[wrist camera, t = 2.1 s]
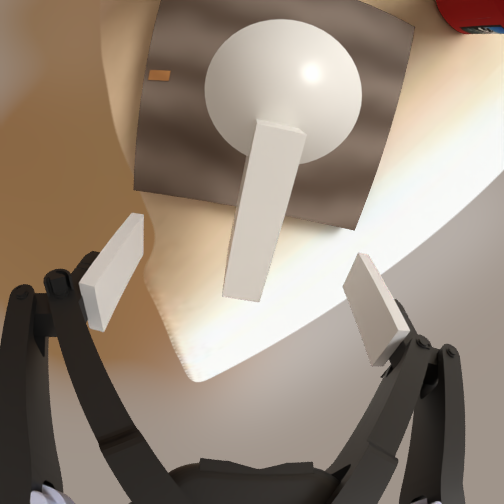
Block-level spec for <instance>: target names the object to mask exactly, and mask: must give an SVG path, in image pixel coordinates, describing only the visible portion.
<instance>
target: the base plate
mask: <svg viewBox="0 0 504 504" xmlns="http://www.w3.org/2000/svg"><path fill="white" fill-rule="evenodd" d="M275 19H287V20H295V21H300V22H304V23H307V24H310V25H313V26H315V27H317V28H319V29H321V30H323V31H325V32H326V33H328V34H329V35H331V36H332V37H333V38H334V39H336V40H337V41H338V42H339V43H340V44H341V45H342V46H343V47H344V48H345V49H346V51H347V52H348V54H349V55H350V57H351V58H352V60H353V62H354V64H355V66H356V68H357V71H358V74H359V77H360V81H361V88H362V101H361V108H360V113H359V116H358V118H357V121H356V123H355V125H354V127H353V129H352V131H351V132H350V134H349V135H348V136H347V138H346V139H345V140H344V141H343V142H342V143H341V144H340V145H339V146H338V147H337V148H335V149H334V150H333V151H331V152H330V153H328V154H327V155H325V156H323V157H321V158H319V159H317V160H314V161H311V162H308V163H303V164H299V166H298V170H297V173H296V177H295V181H294V184H293V188H292V191H291V195H290V199H289V202H288V206H287V209H286V213H285V216H289V217H294V218H299V219H304V220H309V221H314V222H318V223H323V224H328V225H332V226H337V227H341V228H346V229H350V230H355V228H356V225H357V223H358V220H359V218H360V215H361V213H362V210H363V207H364V205H365V202H366V200H367V197H368V194H369V191H370V189H371V186H372V183H373V180H374V177H375V175H376V172H377V169H378V166H379V163H380V160H381V157H382V154H383V151H384V148H385V144H386V141H387V138H388V135H389V132H390V128H391V125H392V121H393V118H394V115H395V111H396V107H397V104H398V100H399V96H400V92H401V89H402V85H403V81H404V77H405V72H406V68H407V64H408V59H409V55H410V50H411V45H412V40H413V35H414V29H415V27H414V26H412V25H410V24H408V23H406V22H405V21H403V20H401V19H399V18H397V17H395V16H393V15H391V14H388V13H386V12H384V11H382V10H380V9H378V8H375V7H373V6H371V5H368V4H366V3H363V2H361V1H358V0H161V3H160V7H159V10H158V14H157V18H156V22H155V26H154V30H153V35H152V39H151V44H150V49H149V54H148V59H147V65H146V70H145V76H144V82H143V89H142V96H141V103H140V111H139V120H138V129H137V140H136V153H135V169H134V190H136V191H144V192H151V193H157V194H164V195H171V196H177V197H184V198H190V199H196V200H202V201H208V202H214V203H220V204H226V205H231V206H236V205H237V200H238V195H239V190H240V185H241V180H242V176H243V171H244V166H245V161H246V155H244V154H243V153H241V152H239V151H238V150H236V149H235V148H234V147H232V146H231V145H230V144H229V143H228V142H227V141H226V140H225V139H224V138H223V137H222V136H221V134H220V133H219V132H218V130H217V129H216V127H215V126H214V124H213V122H212V120H211V118H210V116H209V113H208V109H207V106H206V100H205V80H206V74H207V71H208V67H209V65H210V63H211V60H212V58H213V57H214V55H215V53H216V52H217V50H218V49H219V48H220V47H221V45H222V44H223V43H224V42H225V41H226V40H227V39H228V38H230V37H231V36H232V35H233V34H235V33H236V32H238V31H239V30H241V29H243V28H245V27H247V26H249V25H252V24H255V23H258V22H261V21H267V20H275Z"/></svg>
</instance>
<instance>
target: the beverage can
mask: <svg viewBox="0 0 504 504" xmlns="http://www.w3.org/2000/svg"><path fill="white" fill-rule="evenodd" d="M436 3H437V6H438V9H439V11H440V13H441V15H442V16H443V18H444V19H445V20H446V22H447V23H448V24H449V25H450V26H451V27H452V28H454V29H455V30H457V31H458V32H460V33H463V34H504V0H436Z"/></svg>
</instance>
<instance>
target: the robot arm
mask: <svg viewBox="0 0 504 504" xmlns="http://www.w3.org/2000/svg"><path fill="white" fill-rule="evenodd" d="M143 228H144V215H143V214H137V213H131V214H130V216H129V217H128V218H127V219H126V220H125V222H124V223H123V224H122V225H121V227H120V228H119V229H118V230H117V232H116V233H115V234H114V236H113V237H112V238H111V239H110V241H109V242H108V243H107V245H106V246H105V247H104V248H103V250H102V251H101V252H94V251H92V252H90V253H89V254H87V255H85V257H84V258H83V259H82V260H81V262H80V263H79V264H78V265H77V267H76V268H75V269H74V271H73V272H72V273H71V274H70V272H69V271H67V270H65V269H55V270H52V271H50V272H49V273H47V274H46V276H45V277H44V286H45V289H46V292H47V293H35V292H34V289H33V288H32V286H30V285H26V284H23V285H19V286H18V287H16V288H14V289H13V290H12V292H11V294H10V298H9V302H8V306H7V311H6V316H5V321H4V326H3V333H2V338H1V345H0V504H75V503H74V502H73V501H72V499H71V498H70V497H68V496H67V495H66V494H64V493H63V484H62V477H61V471H60V466H59V461H58V456H57V451H56V445H55V440H54V433H53V425H52V417H51V408H50V395H49V375H48V339H49V337H58V340H59V344H60V348H61V351H62V354H63V357H64V360H65V364H66V367H67V370H68V373H69V375H70V378H71V381H72V384H73V386H74V389H75V392H76V394H77V397H78V399H79V402H80V404H81V406H82V409H83V411H84V413H85V415H86V418H87V420H88V422H89V424H90V426H91V429H92V431H93V433H94V435H95V437H96V439H97V441H98V443H99V447H100V450H101V452H102V453H103V456H104V458H105V459H106V461H107V463H108V465H109V467H110V468H111V470H112V471H113V473H114V475H115V477H116V478H117V480H118V481H119V483H120V485H121V486H122V488H123V489H124V491H125V492H126V494H127V495H128V497H129V498H130V500H131V501H132V502H130V503H129V504H377V503H378V501H379V500H380V498H381V496H382V494H383V492H384V491H385V489H386V486H387V485H388V483H389V481H390V479H391V477H392V475H393V473H394V471H395V469H396V467H397V464H398V459H397V458H395V455H396V452H397V450H398V448H399V445H400V443H401V441H402V438H403V436H404V434H405V431H406V429H407V426H408V424H409V421H410V419H411V416H412V413H413V410H414V416H413V425H412V433H411V440H410V447H409V453H408V459H407V464H406V469H405V475H404V479H403V484H402V488H401V493H400V499H399V504H465V498H464V491H463V483H462V482H463V472H464V456H465V407H464V391H463V380H462V372H461V364H460V356H459V353H458V351H457V350H456V348H455V347H453V346H452V345H450V344H444V346H442V348H441V349H436V348H433V347H432V346H431V343H430V342H429V341H428V340H427V338H425V337H424V336H422V335H418V334H417V332H416V331H415V329H414V327H413V325H412V323H411V321H410V319H409V318H408V315H407V314H406V312H405V310H404V308H403V306H402V305H401V304H400V303H399V302H398V300H396V299H393V297H392V295H391V293H390V291H389V289H388V288H387V286H386V284H385V283H384V281H383V279H382V277H381V275H380V274H379V272H378V270H377V268H376V267H375V265H374V263H373V262H372V260H371V258H370V257H369V255H368V254H363V253H358V254H357V256H356V259H355V261H354V263H353V265H352V268H351V270H350V272H349V274H348V276H347V278H346V281H345V283H344V285H343V289H344V292H345V294H346V297H347V299H348V302H349V304H350V307H351V310H352V313H353V315H354V318H355V320H356V323H357V325H358V329H359V332H360V334H361V337H362V340H363V343H364V346H365V348H366V352H367V355H368V357H369V360H370V363H371V366H384V364H385V363H386V362H387V361H388V360H390V363H391V365H390V366H389V368H388V369H387V370H386V371H385V372H384V374H383V375H382V376H381V378H383V379H382V381H381V383H380V385H379V387H378V389H377V391H376V393H375V395H374V397H373V399H372V401H371V403H370V404H369V407H368V408H367V410H366V412H365V413H364V415H363V417H362V419H361V420H360V422H359V424H358V426H357V427H356V429H355V430H354V432H353V434H352V435H351V437H350V439H349V440H348V442H347V443H346V445H345V447H344V448H343V450H342V451H341V453H340V454H339V455H338V457H337V459H336V460H335V461H334V463H333V464H332V465H331V466H330V467H329V468H328V469H327V470H326V471H323V470H321V469H317V468H313V462H301V463H285V464H281V465H277V466H273V467H268V468H264V469H255V468H251V467H248V466H244V465H240V464H237V463H233V462H230V461H221V460H212V459H204V458H201V459H200V462H199V463H193V464H188V465H184V466H181V467H178V468H176V469H174V470H172V471H170V472H169V473H168V472H167V471H166V470H165V468H164V467H163V465H162V464H161V463H160V461H159V460H158V459H157V457H156V455H155V454H154V452H153V451H152V449H151V448H150V446H149V445H148V443H147V442H146V440H145V439H144V437H143V436H142V434H141V433H140V431H139V430H138V429H137V428H136V426H135V425H134V423H133V421H132V420H131V418H130V416H129V414H128V413H127V411H126V409H125V407H124V405H123V404H122V402H121V400H120V398H119V396H118V394H117V392H116V390H115V388H114V386H113V384H112V383H111V380H110V378H109V376H108V374H107V372H106V370H105V368H104V366H103V363H102V361H101V359H100V357H99V354H98V352H97V350H96V347H95V345H94V343H93V340H92V338H91V335H90V333H89V330H88V327H87V325H86V322H87V320H88V323H89V327H90V328H91V329H94V330H98V331H102V332H104V331H105V329H106V327H107V324H108V322H109V320H110V318H111V316H112V314H113V312H114V310H115V307H116V306H117V304H118V302H119V300H120V297H121V296H122V294H123V292H124V290H125V288H126V285H127V284H128V282H129V280H130V278H131V276H132V274H133V272H134V271H135V269H136V266H137V265H138V263H139V261H140V259H141V258H142V256H143Z"/></svg>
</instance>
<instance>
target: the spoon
mask: <svg viewBox="0 0 504 504" xmlns="http://www.w3.org/2000/svg"><path fill="white" fill-rule="evenodd" d="M205 100H206V106H207V109H208V113H209V116H210V118H211V120H212V122H213V124H214V126H215V127H216V129H217V130H218V132H219V133H220V134H221V136H222V137H223V138H224V139H225V140H226V141H227V142H228V143H229V144H230V145H231V146H232V147H234V148H235V149H236V150H238V151H239V152H241V153H243V154H244V155H246V161H245V166H244V171H243V176H242V180H241V185H240V190H239V195H238V200H237V205H236V210H235V215H234V221H233V226H232V231H231V236H230V241H229V247H228V254H227V261H226V269H225V277H224V284H223V292H222V297H228V298H234V299H241V300H247V301H254V302H260V298H261V295H262V292H263V288H264V285H265V282H266V278H267V275H268V272H269V268H270V265H271V261H272V258H273V255H274V251H275V248H276V244H277V241H278V237H279V234H280V230H281V227H282V223H283V220H284V216H285V213H286V209H287V206H288V202H289V199H290V195H291V191H292V188H293V184H294V181H295V177H296V173H297V170H298V166H299V164H303V163H308V162H311V161H314V160H317V159H319V158H321V157H323V156H325V155H327V154H328V153H330V152H331V151H333V150H334V149H335V148H337V147H338V146H339V145H340V144H341V143H342V142H343V141H344V140H345V139H346V138H347V136H348V135H349V134H350V132H351V131H352V129H353V127H354V125H355V123H356V121H357V118H358V116H359V113H360V108H361V101H362V88H361V81H360V77H359V74H358V71H357V68H356V66H355V64H354V62H353V60H352V58H351V57H350V55H349V54H348V52H347V51H346V49H345V48H344V47H343V46H342V45H341V44H340V43H339V42H338V41H337V40H336V39H334V38H333V37H332V36H331V35H329V34H328V33H326V32H325V31H323V30H321V29H319V28H317V27H315V26H313V25H310V24H307V23H304V22H300V21H295V20H287V19H275V20H267V21H261V22H258V23H255V24H252V25H249V26H247V27H245V28H243V29H241V30H239V31H238V32H236V33H235V34H233V35H232V36H231V37H230V38H228V39H227V40H226V41H225V42H224V43H223V44H222V45H221V47H220V48H219V49H218V50H217V52H216V53H215V55H214V57H213V58H212V60H211V63H210V65H209V67H208V71H207V74H206V80H205Z"/></svg>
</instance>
